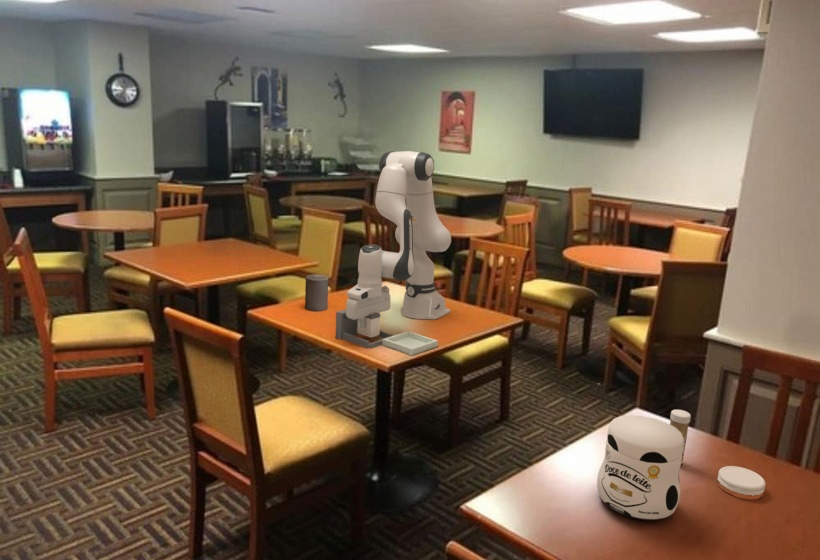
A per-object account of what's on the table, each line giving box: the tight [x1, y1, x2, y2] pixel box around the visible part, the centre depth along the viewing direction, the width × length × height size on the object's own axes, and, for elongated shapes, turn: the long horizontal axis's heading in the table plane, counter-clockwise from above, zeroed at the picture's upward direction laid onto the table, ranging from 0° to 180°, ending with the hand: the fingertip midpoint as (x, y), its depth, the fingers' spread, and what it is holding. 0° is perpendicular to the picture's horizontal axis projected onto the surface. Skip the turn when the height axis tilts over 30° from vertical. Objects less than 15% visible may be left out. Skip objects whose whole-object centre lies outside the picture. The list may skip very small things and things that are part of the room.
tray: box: [381, 330, 439, 357], centre depth 241 cm, size 14×14×2 cm
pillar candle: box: [304, 274, 330, 312], centre depth 281 cm, size 10×10×15 cm
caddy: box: [357, 313, 381, 338], centre depth 245 cm, size 5×7×8 cm, turn 49°
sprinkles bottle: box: [669, 409, 692, 462], centre depth 165 cm, size 5×5×14 cm
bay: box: [335, 308, 393, 349], centre depth 245 cm, size 14×17×10 cm
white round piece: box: [717, 465, 766, 496], centre depth 156 cm, size 10×10×4 cm
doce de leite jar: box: [596, 414, 684, 522], centre depth 145 cm, size 17×17×18 cm
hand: (368, 325), depth 245 cm, fingers closed on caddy, 4 cm apart
